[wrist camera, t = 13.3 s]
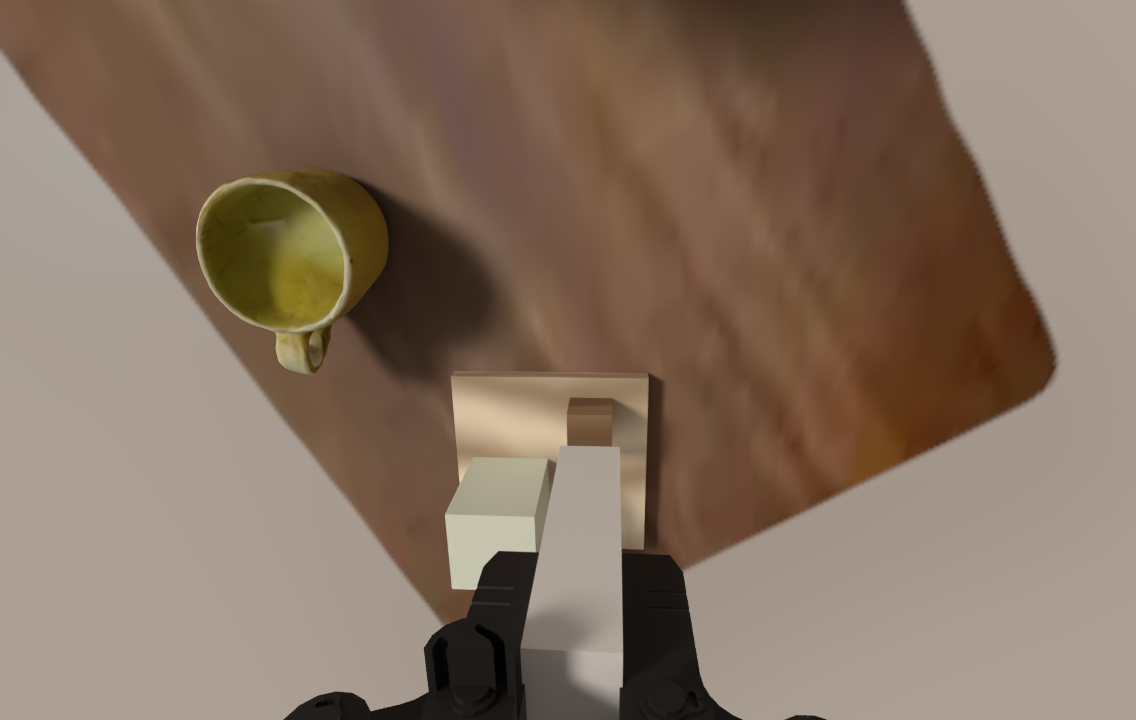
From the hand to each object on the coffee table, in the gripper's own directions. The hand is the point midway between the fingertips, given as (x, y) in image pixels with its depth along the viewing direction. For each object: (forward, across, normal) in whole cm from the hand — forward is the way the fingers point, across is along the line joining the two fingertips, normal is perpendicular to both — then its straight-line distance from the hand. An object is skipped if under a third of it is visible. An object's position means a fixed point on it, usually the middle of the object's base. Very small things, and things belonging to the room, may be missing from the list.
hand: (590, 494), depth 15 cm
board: (+26, -4, -13) cm, 30 cm away
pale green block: (+25, -7, -15) cm, 30 cm away
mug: (+27, -19, +2) cm, 33 cm away
